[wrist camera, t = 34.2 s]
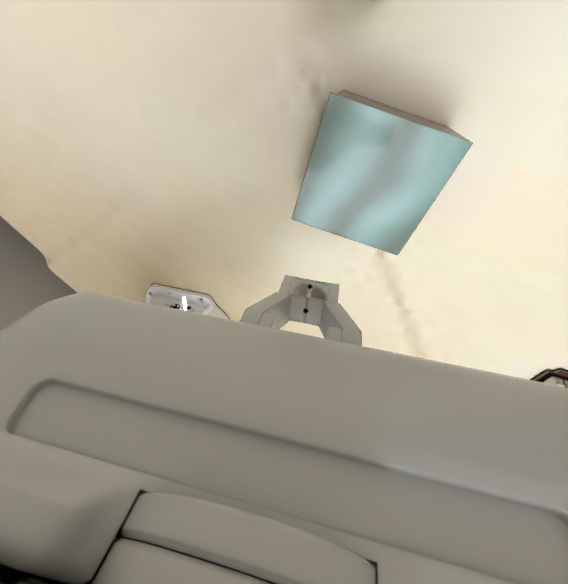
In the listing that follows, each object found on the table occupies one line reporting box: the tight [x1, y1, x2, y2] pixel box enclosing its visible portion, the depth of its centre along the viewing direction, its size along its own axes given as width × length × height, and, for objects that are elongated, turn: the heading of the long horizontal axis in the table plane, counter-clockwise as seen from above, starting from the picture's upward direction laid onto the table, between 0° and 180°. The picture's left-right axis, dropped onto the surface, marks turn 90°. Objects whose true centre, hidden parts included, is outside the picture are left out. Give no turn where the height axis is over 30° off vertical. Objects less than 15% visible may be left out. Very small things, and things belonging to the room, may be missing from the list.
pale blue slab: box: [292, 92, 473, 255], centre depth 31 cm, size 15×14×1 cm
